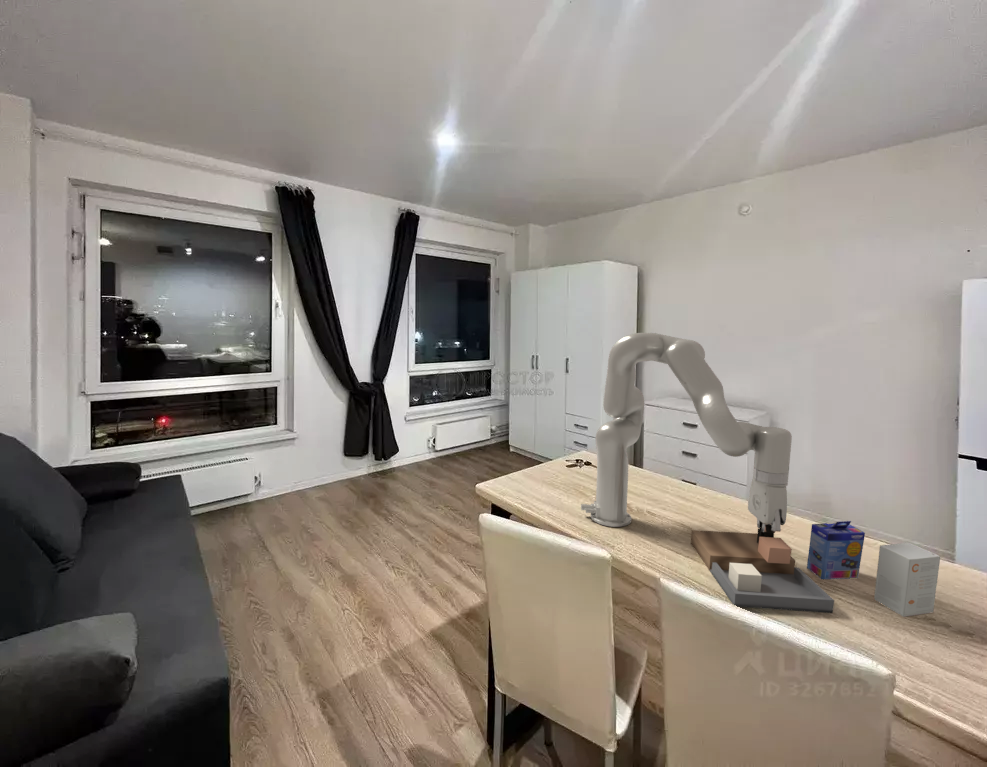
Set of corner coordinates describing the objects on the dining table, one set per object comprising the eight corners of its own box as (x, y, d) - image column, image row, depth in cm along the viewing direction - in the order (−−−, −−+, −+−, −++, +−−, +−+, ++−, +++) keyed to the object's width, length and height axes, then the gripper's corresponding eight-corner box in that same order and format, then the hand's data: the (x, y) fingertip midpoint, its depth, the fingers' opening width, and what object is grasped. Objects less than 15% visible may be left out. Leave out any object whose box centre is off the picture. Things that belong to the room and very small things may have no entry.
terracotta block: (767, 562, 106) (769, 547, 106) (757, 551, 111) (759, 536, 110) (789, 563, 106) (791, 548, 105) (778, 552, 111) (780, 537, 110)
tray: (734, 606, 96) (735, 593, 95) (710, 571, 109) (710, 560, 109) (832, 613, 93) (834, 600, 93) (795, 576, 107) (796, 565, 107)
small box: (901, 595, 100) (908, 541, 98) (934, 613, 94) (942, 556, 92) (872, 599, 98) (879, 544, 97) (903, 617, 92) (910, 559, 91)
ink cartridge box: (823, 581, 106) (829, 524, 104) (805, 568, 111) (810, 514, 109) (861, 579, 106) (867, 522, 105) (841, 567, 112) (847, 513, 110)
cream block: (729, 562, 105) (728, 578, 105) (738, 574, 100) (737, 590, 100) (751, 564, 104) (750, 579, 105) (761, 575, 99) (760, 592, 100)
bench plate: (709, 570, 110) (710, 555, 109) (690, 543, 124) (691, 530, 123) (794, 575, 108) (795, 560, 107) (765, 547, 122) (766, 534, 121)
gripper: (741, 466, 118) (736, 531, 120) (770, 486, 104) (764, 559, 106) (770, 467, 118) (765, 532, 120) (804, 487, 103) (797, 560, 105)
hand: (764, 544), depth 113 cm, fingers closed
